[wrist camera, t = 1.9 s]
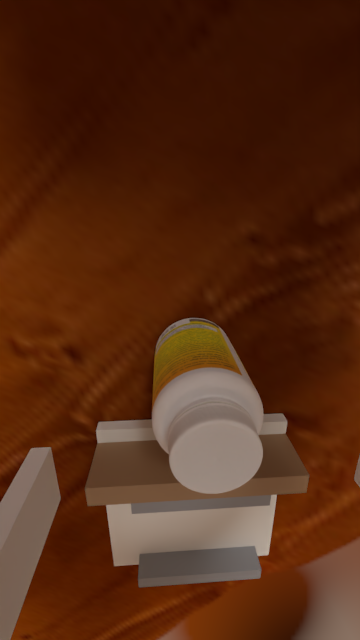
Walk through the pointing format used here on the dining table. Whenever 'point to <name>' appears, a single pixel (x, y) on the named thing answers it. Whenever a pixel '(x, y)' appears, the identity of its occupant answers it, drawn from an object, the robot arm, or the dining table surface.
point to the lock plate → (187, 507)
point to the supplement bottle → (205, 408)
